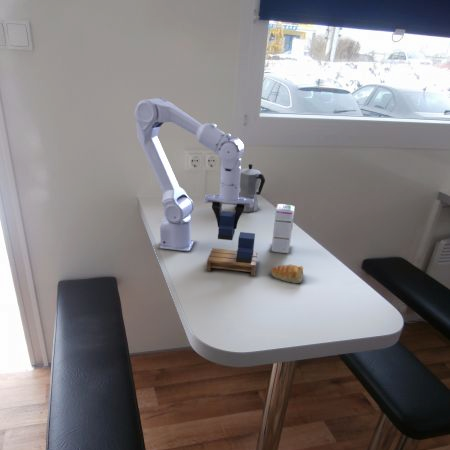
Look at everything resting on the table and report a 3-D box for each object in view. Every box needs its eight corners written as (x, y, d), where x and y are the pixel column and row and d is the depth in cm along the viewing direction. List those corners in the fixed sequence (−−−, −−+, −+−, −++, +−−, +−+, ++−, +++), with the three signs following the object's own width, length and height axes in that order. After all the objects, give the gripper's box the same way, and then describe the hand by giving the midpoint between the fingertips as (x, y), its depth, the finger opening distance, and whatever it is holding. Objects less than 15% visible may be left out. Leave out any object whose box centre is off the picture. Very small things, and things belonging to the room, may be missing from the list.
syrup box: (288, 253, 133) (294, 210, 125) (270, 251, 133) (275, 208, 126) (289, 246, 137) (295, 205, 130) (272, 244, 138) (277, 203, 131)
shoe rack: (206, 270, 119) (207, 260, 117) (212, 258, 127) (212, 247, 125) (254, 276, 118) (255, 265, 116) (256, 263, 126) (257, 252, 124)
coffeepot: (228, 205, 171) (231, 161, 162) (245, 202, 176) (249, 159, 167) (252, 216, 161) (256, 170, 152) (269, 212, 166) (274, 167, 157)
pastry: (269, 280, 116) (270, 268, 114) (271, 270, 122) (273, 258, 120) (302, 284, 115) (304, 272, 113) (303, 274, 121) (305, 262, 119)
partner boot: (238, 251, 123) (240, 231, 120) (253, 253, 123) (255, 233, 120) (236, 261, 117) (237, 240, 114) (251, 263, 117) (253, 242, 114)
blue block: (221, 230, 128) (222, 210, 125) (234, 232, 128) (236, 212, 124) (217, 239, 122) (218, 218, 119) (232, 240, 122) (233, 219, 118)
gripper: (255, 181, 121) (251, 224, 128) (207, 177, 122) (206, 220, 129) (254, 188, 115) (250, 233, 122) (203, 183, 116) (202, 228, 123)
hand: (227, 227), depth 125 cm, fingers closed on blue block, 4 cm apart
